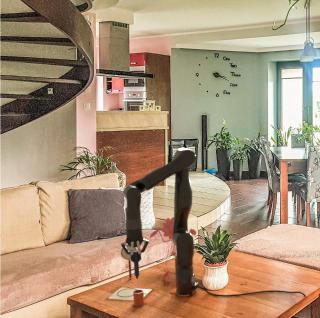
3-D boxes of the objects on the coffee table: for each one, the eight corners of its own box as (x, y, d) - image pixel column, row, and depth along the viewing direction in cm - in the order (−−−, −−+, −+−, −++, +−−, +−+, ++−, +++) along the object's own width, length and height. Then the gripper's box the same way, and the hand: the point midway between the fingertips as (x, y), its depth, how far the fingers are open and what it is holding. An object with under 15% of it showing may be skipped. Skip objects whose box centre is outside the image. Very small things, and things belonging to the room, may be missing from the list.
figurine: (200, 277, 248) (197, 217, 244) (154, 286, 237) (151, 223, 233) (192, 268, 262) (189, 211, 258) (148, 276, 251) (145, 217, 247)
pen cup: (145, 303, 217) (145, 289, 216) (141, 307, 212) (140, 293, 211) (136, 302, 218) (136, 289, 217) (132, 307, 213) (131, 293, 212)
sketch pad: (152, 290, 232) (152, 289, 232) (140, 301, 218) (140, 300, 218) (121, 288, 236) (120, 287, 236) (107, 299, 222) (107, 298, 222)
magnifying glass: (138, 277, 250) (136, 243, 248) (138, 278, 249) (136, 244, 246) (122, 279, 248) (120, 245, 246) (122, 280, 247) (120, 246, 244)
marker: (140, 277, 214) (138, 250, 213) (138, 279, 212) (136, 252, 211) (136, 277, 215) (134, 250, 213) (133, 279, 213) (132, 252, 211)
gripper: (148, 223, 216) (149, 257, 218) (118, 226, 212) (121, 260, 214) (149, 227, 209) (151, 262, 211) (119, 230, 205) (121, 266, 207)
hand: (136, 261), depth 213 cm, fingers closed on marker, 2 cm apart
